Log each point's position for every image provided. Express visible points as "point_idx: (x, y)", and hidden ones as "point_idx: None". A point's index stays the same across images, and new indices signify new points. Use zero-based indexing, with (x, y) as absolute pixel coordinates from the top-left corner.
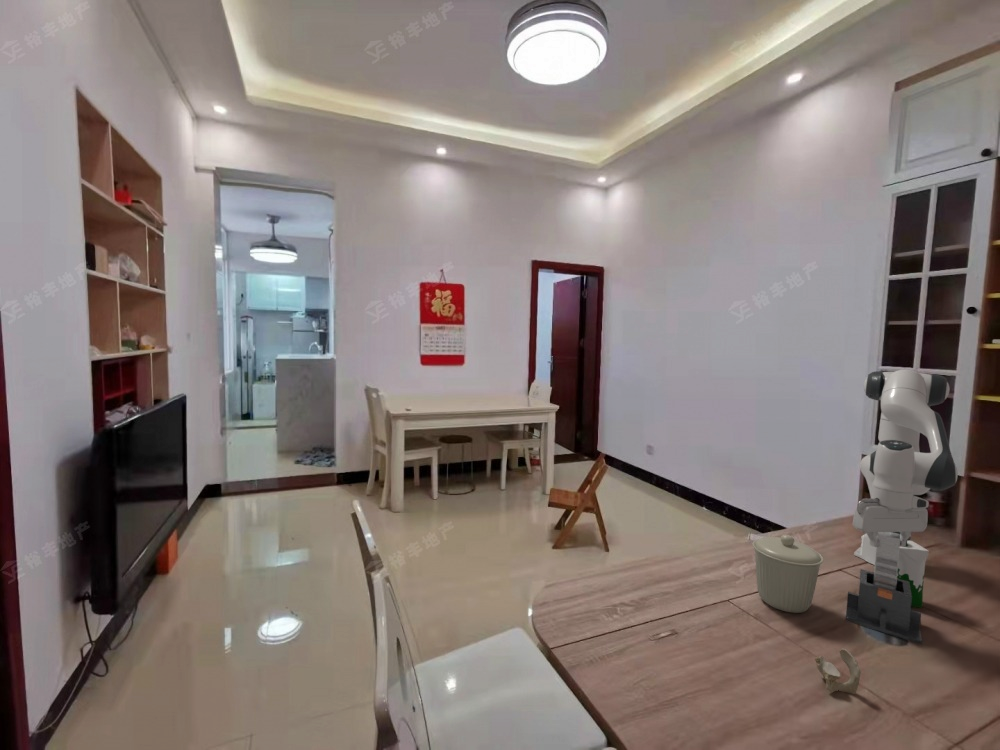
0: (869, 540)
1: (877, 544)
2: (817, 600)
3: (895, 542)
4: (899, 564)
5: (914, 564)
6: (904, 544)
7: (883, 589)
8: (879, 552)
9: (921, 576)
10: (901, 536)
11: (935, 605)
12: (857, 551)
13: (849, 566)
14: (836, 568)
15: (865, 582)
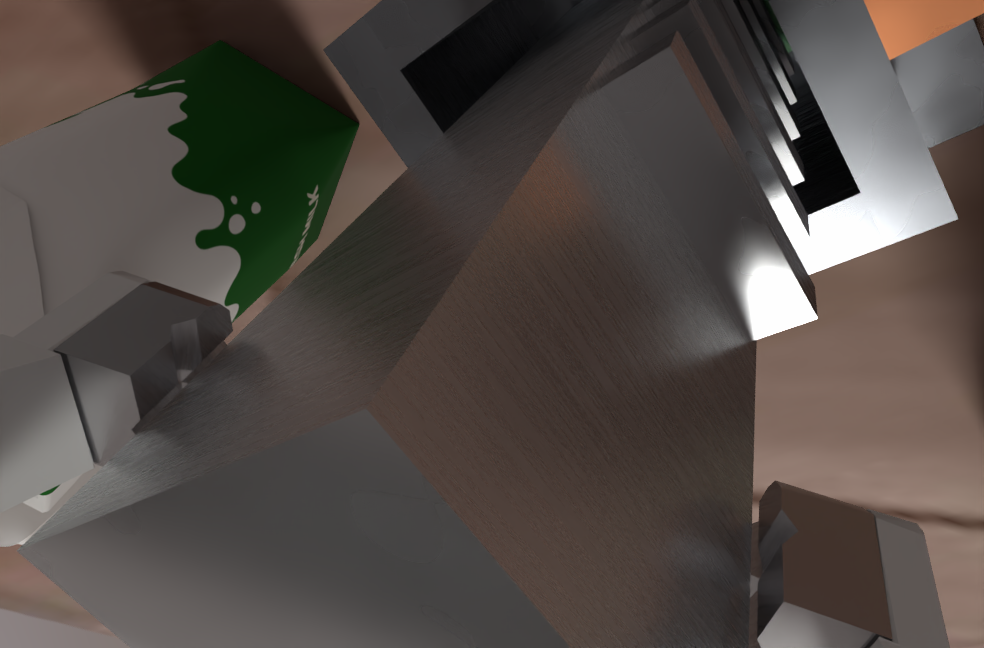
0: (23, 509)
1: (863, 552)
2: (854, 337)
3: (520, 387)
4: (168, 261)
5: (53, 192)
6: (116, 296)
7: (875, 3)
8: (728, 383)
9: (75, 120)
10: (3, 466)
11: (112, 34)
12: None
13: None
14: None
15: (874, 197)
